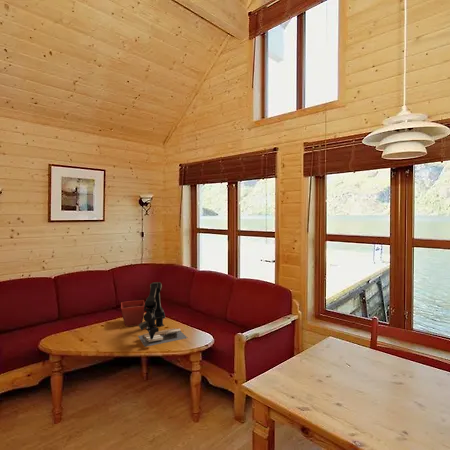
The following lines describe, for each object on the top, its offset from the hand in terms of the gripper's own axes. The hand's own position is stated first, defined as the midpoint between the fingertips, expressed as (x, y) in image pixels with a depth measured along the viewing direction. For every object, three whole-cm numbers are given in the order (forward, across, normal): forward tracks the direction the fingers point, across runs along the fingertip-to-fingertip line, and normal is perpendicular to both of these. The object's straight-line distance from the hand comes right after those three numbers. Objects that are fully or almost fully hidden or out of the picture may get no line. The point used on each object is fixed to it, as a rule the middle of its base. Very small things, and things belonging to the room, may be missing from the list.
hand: (151, 338), depth 233 cm
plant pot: (+1, -48, -3) cm, 48 cm away
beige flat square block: (0, -4, +17) cm, 17 cm away
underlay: (+3, -6, +10) cm, 12 cm away
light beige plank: (+2, -3, +3) cm, 5 cm away
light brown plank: (+2, -12, +10) cm, 16 cm away
